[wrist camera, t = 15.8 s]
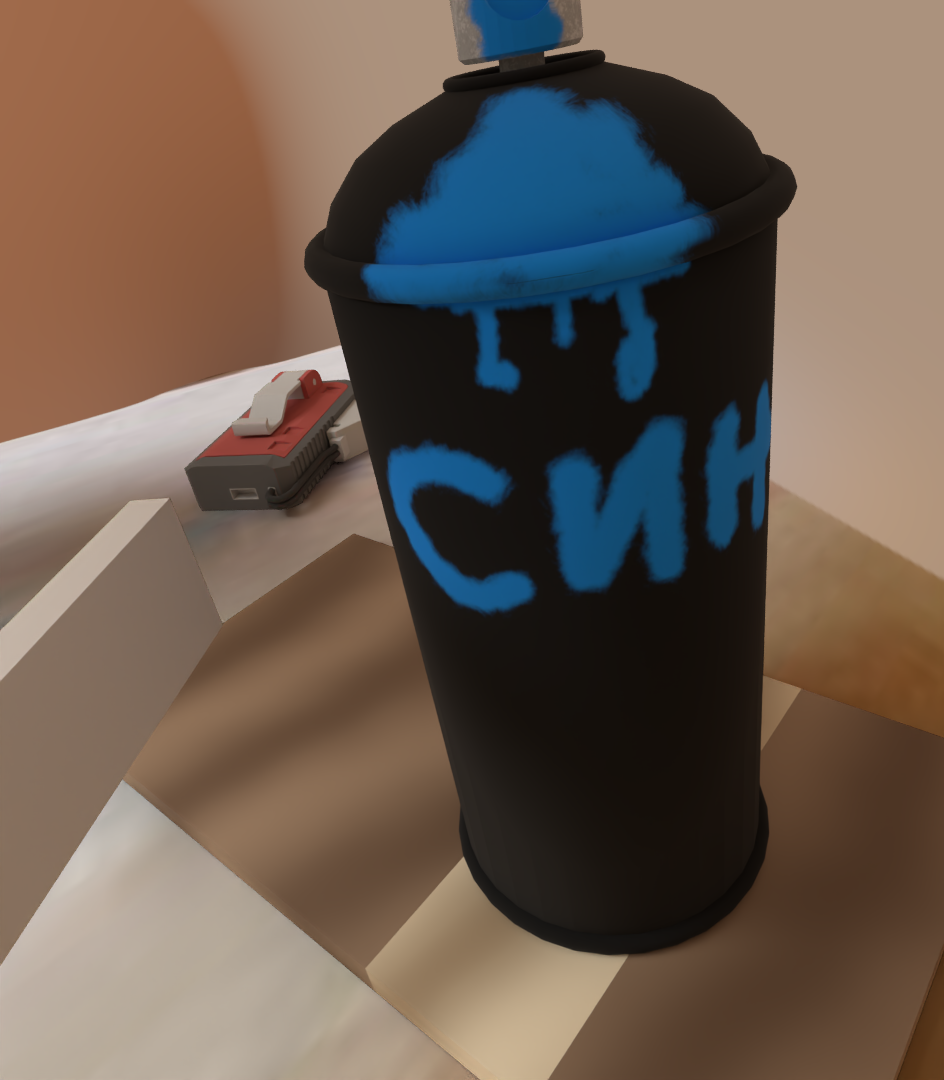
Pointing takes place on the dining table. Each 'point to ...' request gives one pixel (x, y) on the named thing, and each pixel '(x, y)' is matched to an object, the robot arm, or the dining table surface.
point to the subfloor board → (488, 935)
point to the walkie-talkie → (279, 445)
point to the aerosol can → (575, 464)
